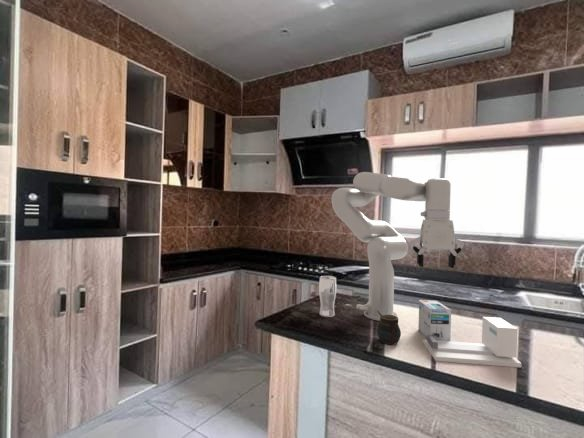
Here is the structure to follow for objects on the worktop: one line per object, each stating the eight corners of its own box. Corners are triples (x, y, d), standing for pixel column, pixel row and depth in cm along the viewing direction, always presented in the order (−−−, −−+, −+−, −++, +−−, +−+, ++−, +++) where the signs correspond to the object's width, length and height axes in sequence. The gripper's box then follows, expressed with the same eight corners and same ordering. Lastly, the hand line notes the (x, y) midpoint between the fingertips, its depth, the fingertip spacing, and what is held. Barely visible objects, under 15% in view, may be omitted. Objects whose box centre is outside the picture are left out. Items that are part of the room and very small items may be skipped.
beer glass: (337, 317, 122) (337, 279, 122) (319, 317, 123) (319, 279, 122) (334, 312, 129) (335, 275, 129) (317, 311, 130) (318, 275, 129)
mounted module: (496, 356, 87) (497, 327, 87) (481, 342, 96) (482, 316, 96) (516, 357, 87) (517, 328, 86) (499, 344, 96) (500, 317, 95)
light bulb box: (451, 342, 101) (452, 309, 101) (429, 342, 101) (430, 308, 101) (436, 330, 112) (437, 299, 111) (417, 329, 112) (418, 299, 111)
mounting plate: (435, 360, 88) (435, 346, 88) (423, 343, 100) (424, 330, 100) (521, 367, 85) (521, 352, 85) (498, 348, 97) (498, 335, 97)
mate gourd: (405, 346, 98) (406, 314, 97) (382, 347, 96) (383, 314, 96) (393, 336, 105) (394, 307, 104) (372, 338, 103) (373, 307, 103)
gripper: (413, 215, 103) (411, 267, 103) (469, 216, 101) (468, 269, 101) (407, 215, 110) (406, 264, 111) (460, 216, 108) (458, 266, 108)
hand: (435, 266), depth 106 cm, fingers open, 9 cm apart
